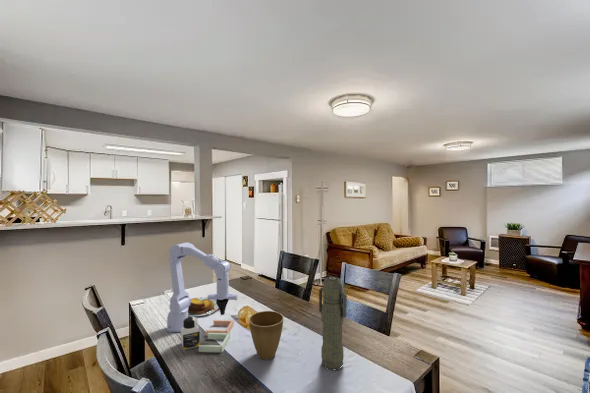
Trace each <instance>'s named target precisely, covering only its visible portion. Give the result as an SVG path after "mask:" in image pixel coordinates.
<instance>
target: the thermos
mask: <svg viewBox="0 0 590 393" xmlns="http://www.w3.org/2000/svg"><path fill="white" fill-rule="evenodd" d="M342 288H343V286H342V282H341V279H340V277H337V276H331V275H330V276H327V277H325V278H324V281H323V284H322V287H320V288H319V290H318V311H319V313H320V315H321V322H322V345H321V351H320V353H321V356H320V357H321V365H322V366H323V367H324V368H325V367H326V368H325V369H327V368H328V369H327V370H329V369H338V368H340V367H341V366H342V365H343V366H344V346H343V323H344V318H345V317H347V303H348V302H347V299H348V297H347V293H346V292H345V291H344V290H342ZM338 370H339V369H338Z"/></svg>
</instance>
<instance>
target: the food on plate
mask: <svg viewBox="0 0 590 393" xmlns="http://www.w3.org/2000/svg"><path fill="white" fill-rule="evenodd" d="M190 299H191V305H190V306H189V309H188V317H201V316H207V315H210V314H212V313H214V312H216V311H217V310H219V307H218V305H217V304H216V301H217V299H210V300H208V299H207V296H205V297H204V296H203V297H193V298H190ZM209 311H211V312H210V313H209ZM207 312H208V314H207Z"/></svg>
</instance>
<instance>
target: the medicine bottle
mask: <svg viewBox="0 0 590 393" xmlns="http://www.w3.org/2000/svg"><path fill="white" fill-rule="evenodd" d="M180 334H181V336H180V337H181V338H180V340H181V342H180V343H181V347H182V350H183V351H184V350H189V349H193V348H197V347H198V348H199V345H201V340H200V339H201V335H200V334H201V332H200V327H199V326H198V318H197V316H194V317H193V316H188V318H186V319H185V320H184V321H183V328H182V329H181V332H180Z"/></svg>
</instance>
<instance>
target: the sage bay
mask: <svg viewBox="0 0 590 393" xmlns="http://www.w3.org/2000/svg"><path fill="white" fill-rule="evenodd" d="M207 340H223V341H222V343H221V344H219V345H215V344H214V345H213V344H209V345H208V344H200V345H199V346H198V352H199V353H223V352H224V350H225V349H226V347H227V345H228V343H229V341H230V340H231V332H229V333H208V336H207Z"/></svg>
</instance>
